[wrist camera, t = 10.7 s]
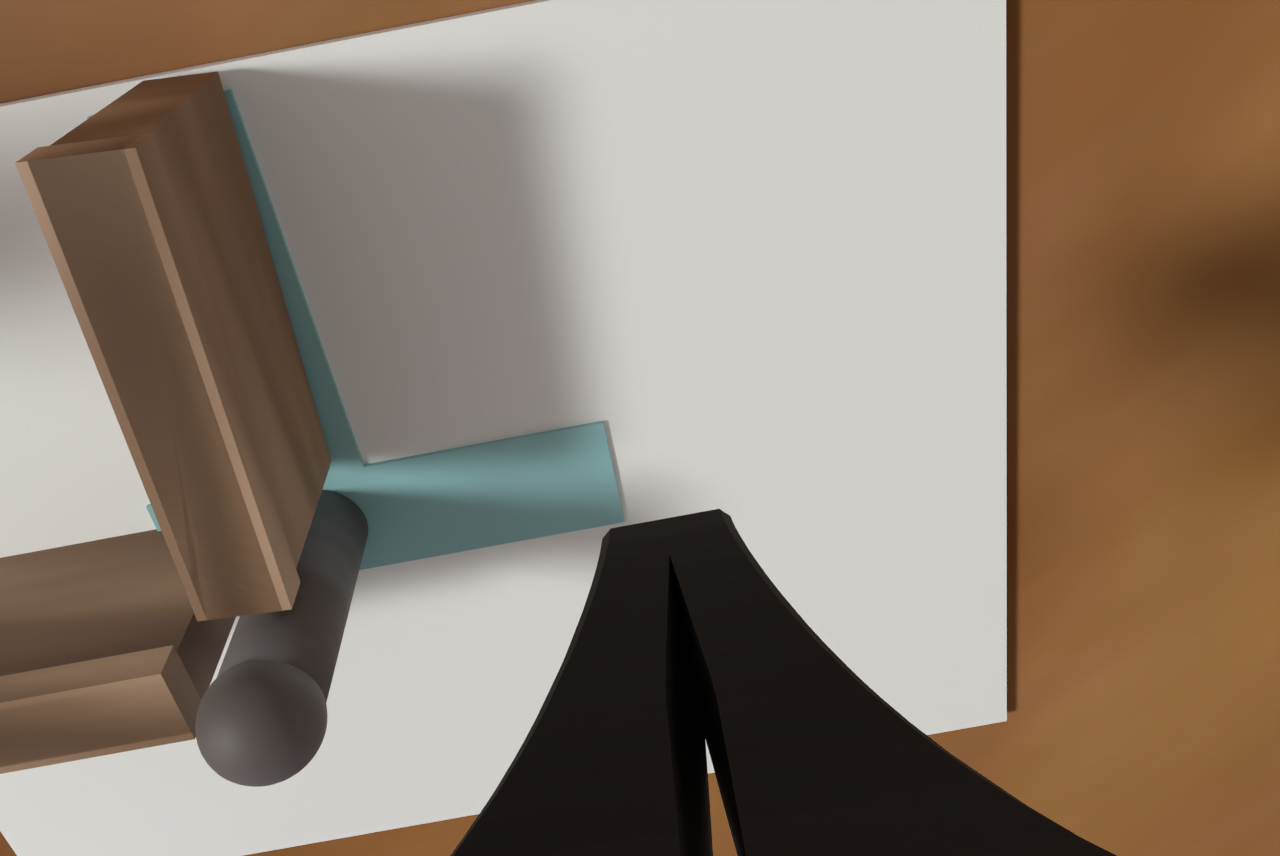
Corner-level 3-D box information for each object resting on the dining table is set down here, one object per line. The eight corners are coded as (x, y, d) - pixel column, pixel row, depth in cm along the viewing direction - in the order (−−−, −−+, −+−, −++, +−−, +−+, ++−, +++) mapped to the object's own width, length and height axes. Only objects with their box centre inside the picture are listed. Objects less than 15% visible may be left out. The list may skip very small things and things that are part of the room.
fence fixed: (386, 554, 23) (332, 802, 17) (-81, 639, 23) (-285, 911, 17) (357, 474, 22) (290, 710, 16) (-130, 564, 22) (-363, 826, 16)
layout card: (1002, 711, 27) (1008, 723, 26) (46, 880, 27) (40, 894, 27) (999, -90, 18) (1008, -88, 17) (-427, 186, 18) (-446, 193, 18)
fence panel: (227, 70, 18) (135, 147, 14) (339, 460, 21) (291, 608, 17) (133, 81, 18) (14, 162, 14) (262, 470, 21) (197, 621, 17)
